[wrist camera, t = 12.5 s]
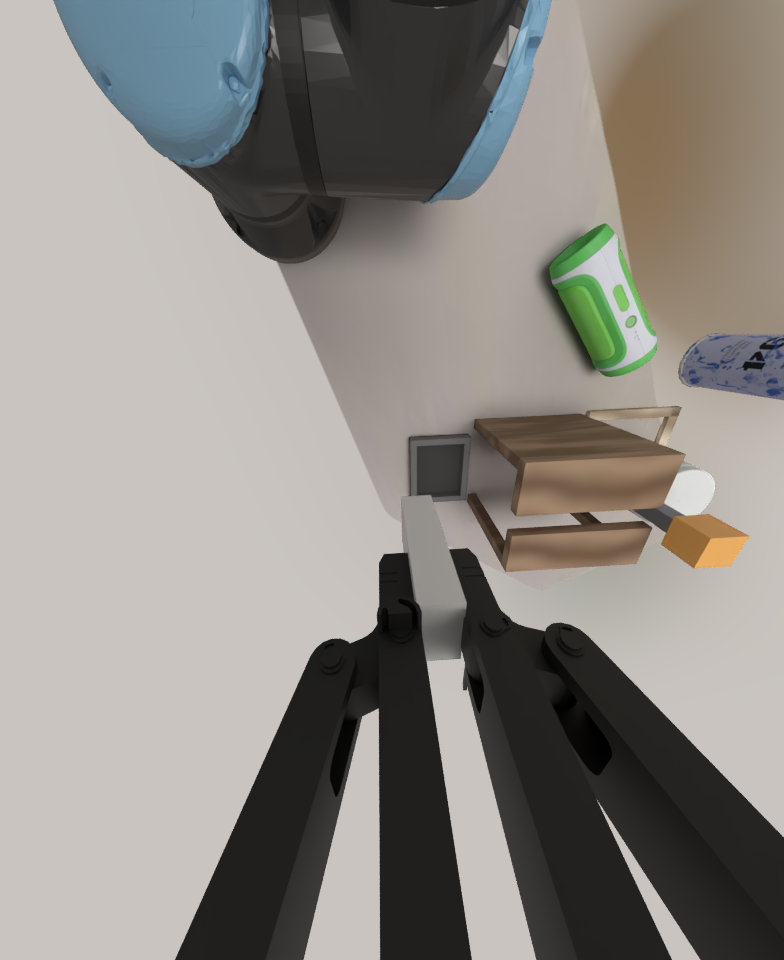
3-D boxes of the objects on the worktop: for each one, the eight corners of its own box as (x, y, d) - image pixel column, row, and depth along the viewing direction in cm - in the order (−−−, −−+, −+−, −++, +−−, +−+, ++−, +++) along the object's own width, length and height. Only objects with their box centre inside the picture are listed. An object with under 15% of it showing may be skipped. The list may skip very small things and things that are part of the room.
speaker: (631, 342, 44) (677, 343, 37) (587, 376, 46) (623, 383, 39) (583, 231, 37) (628, 208, 31) (534, 275, 39) (566, 263, 33)
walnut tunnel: (474, 419, 48) (525, 462, 31) (580, 413, 48) (685, 454, 32) (467, 501, 55) (505, 571, 39) (559, 496, 56) (636, 563, 39)
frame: (587, 410, 48) (590, 411, 47) (677, 406, 48) (681, 407, 48) (563, 498, 56) (566, 500, 55) (641, 493, 56) (645, 495, 55)
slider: (573, 426, 49) (733, 500, 27) (596, 425, 49) (774, 497, 27) (558, 486, 54) (682, 588, 32) (579, 485, 54) (716, 586, 32)
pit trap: (409, 436, 49) (410, 440, 47) (467, 433, 49) (471, 437, 47) (410, 497, 54) (411, 503, 52) (462, 494, 54) (465, 500, 53)
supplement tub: (620, 483, 55) (696, 529, 42) (571, 484, 54) (633, 531, 41) (639, 434, 50) (731, 468, 37) (587, 434, 50) (662, 470, 37)
